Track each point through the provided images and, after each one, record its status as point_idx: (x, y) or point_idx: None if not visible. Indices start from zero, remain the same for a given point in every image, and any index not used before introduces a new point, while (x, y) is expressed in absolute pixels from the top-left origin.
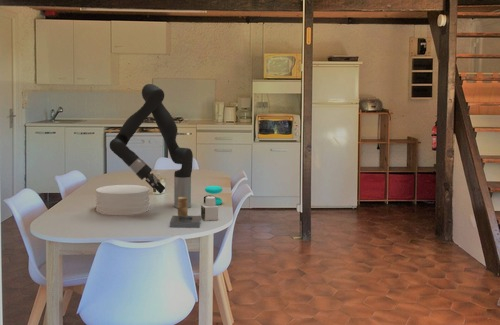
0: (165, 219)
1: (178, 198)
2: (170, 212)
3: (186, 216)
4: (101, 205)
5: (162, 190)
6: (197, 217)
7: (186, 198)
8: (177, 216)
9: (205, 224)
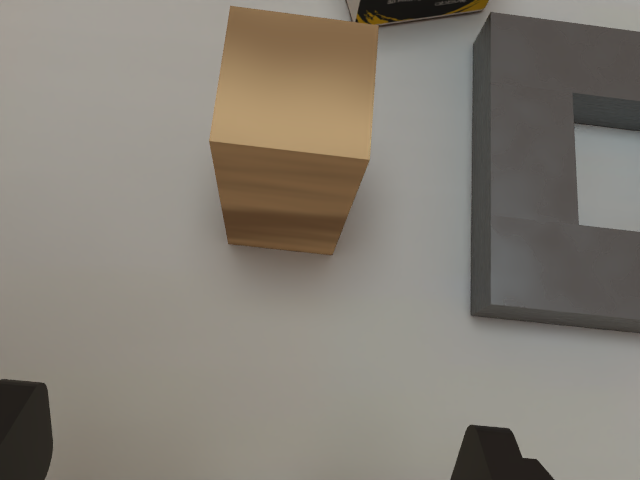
0: (415, 400)
1: (358, 150)
2: (15, 338)
3: (528, 150)
4: None
5: (514, 449)
6: (567, 48)
7: (357, 30)
8: (535, 248)
9: (614, 20)
